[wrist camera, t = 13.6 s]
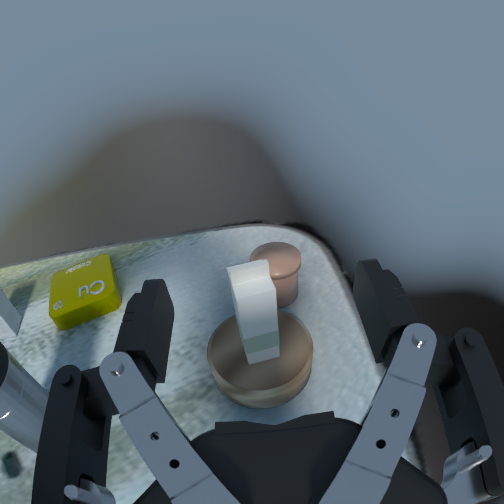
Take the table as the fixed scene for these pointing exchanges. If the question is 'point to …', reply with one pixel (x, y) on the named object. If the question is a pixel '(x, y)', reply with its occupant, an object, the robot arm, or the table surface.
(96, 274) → the element tile
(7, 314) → the small box
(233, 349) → the oak podium
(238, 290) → the carton
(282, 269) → the terracotta pot
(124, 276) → the table surface
